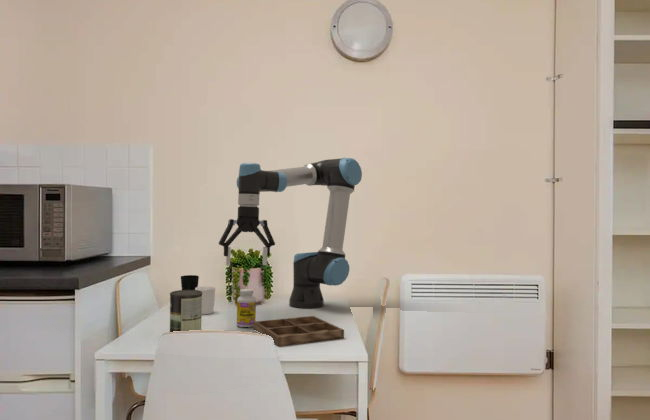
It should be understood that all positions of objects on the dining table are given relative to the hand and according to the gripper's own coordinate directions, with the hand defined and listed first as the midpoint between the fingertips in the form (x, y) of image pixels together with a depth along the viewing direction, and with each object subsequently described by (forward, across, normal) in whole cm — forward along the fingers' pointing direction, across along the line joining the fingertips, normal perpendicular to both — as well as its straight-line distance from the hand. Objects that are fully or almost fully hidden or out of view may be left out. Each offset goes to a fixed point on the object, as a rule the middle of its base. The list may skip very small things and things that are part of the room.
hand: (246, 265), depth 176 cm
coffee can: (+22, -22, -5) cm, 31 cm away
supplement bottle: (+22, 0, 0) cm, 22 cm away
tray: (+21, +13, -18) cm, 31 cm away
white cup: (+22, -8, +27) cm, 36 cm away
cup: (+22, -10, +49) cm, 54 cm away
